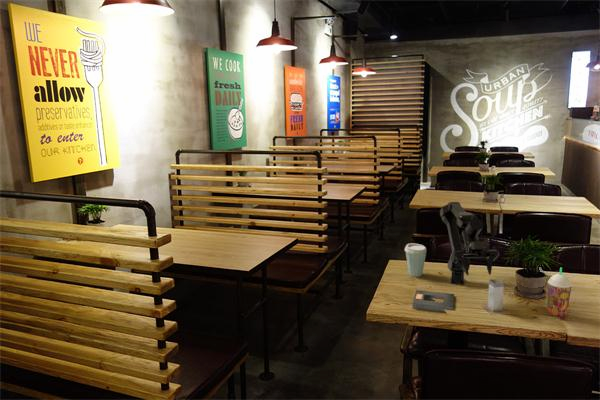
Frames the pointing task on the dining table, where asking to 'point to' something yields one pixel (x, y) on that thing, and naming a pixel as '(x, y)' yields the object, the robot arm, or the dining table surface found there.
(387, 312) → the dining table surface
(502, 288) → the grey square peg
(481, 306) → the pad
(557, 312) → the smoothie
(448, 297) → the flange plate
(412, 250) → the disposable coffee cup
